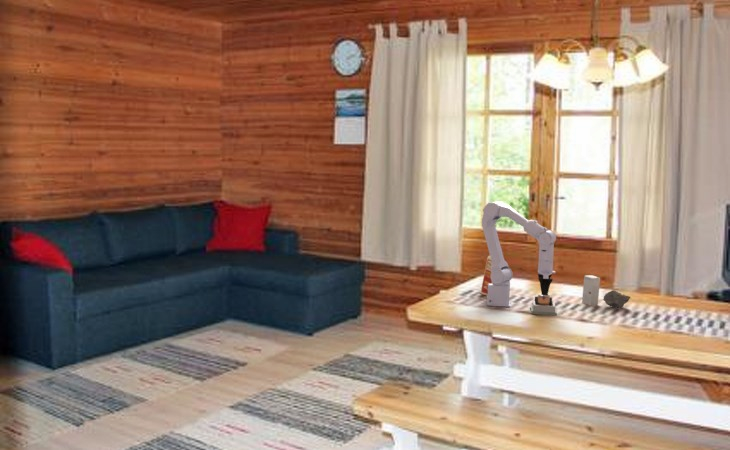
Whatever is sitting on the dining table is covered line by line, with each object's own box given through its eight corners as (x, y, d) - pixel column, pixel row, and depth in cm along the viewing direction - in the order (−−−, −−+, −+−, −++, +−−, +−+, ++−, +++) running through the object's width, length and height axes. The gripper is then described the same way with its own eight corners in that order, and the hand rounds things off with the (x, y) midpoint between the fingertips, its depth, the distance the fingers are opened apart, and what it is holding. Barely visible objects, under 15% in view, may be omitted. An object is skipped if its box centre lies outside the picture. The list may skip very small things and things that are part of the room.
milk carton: (480, 293, 323) (481, 250, 320) (497, 291, 327) (498, 249, 324) (491, 297, 315) (493, 253, 312) (508, 295, 318) (510, 252, 316)
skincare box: (581, 302, 307) (583, 275, 305) (590, 302, 308) (591, 274, 307) (590, 305, 301) (591, 278, 300) (599, 305, 302) (600, 277, 301)
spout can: (538, 310, 288) (538, 294, 287) (536, 307, 292) (537, 292, 292) (550, 310, 287) (550, 295, 286) (548, 307, 292) (549, 292, 291)
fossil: (631, 307, 299) (633, 289, 298) (628, 312, 291) (629, 293, 290) (604, 304, 304) (605, 286, 303) (600, 308, 297) (601, 289, 296)
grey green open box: (531, 313, 285) (531, 301, 285) (530, 307, 296) (531, 295, 296) (556, 315, 283) (557, 303, 283) (555, 309, 294) (555, 297, 294)
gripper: (557, 263, 279) (555, 297, 281) (554, 257, 294) (553, 289, 295) (538, 262, 281) (537, 296, 282) (537, 257, 295) (535, 288, 297)
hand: (544, 292), depth 289 cm, fingers open, 7 cm apart
